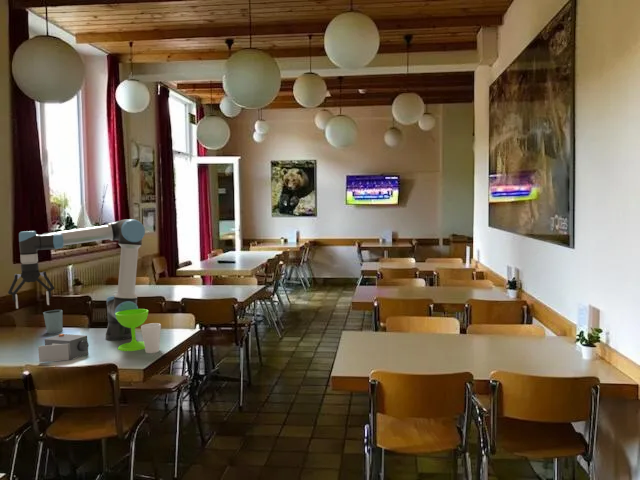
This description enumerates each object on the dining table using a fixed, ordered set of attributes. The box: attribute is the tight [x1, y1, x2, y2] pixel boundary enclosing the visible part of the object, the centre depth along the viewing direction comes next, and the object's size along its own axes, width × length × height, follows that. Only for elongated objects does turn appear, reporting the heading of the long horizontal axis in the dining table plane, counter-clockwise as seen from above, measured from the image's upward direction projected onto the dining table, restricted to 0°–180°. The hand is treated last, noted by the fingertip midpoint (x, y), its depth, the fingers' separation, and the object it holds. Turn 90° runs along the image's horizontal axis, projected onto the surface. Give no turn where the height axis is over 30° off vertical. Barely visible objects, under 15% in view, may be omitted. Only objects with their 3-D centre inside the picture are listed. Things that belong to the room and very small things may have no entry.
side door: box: [37, 343, 71, 363], centre depth 273 cm, size 14×1×8 cm, turn 102°
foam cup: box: [140, 322, 162, 354], centre depth 284 cm, size 10×9×13 cm
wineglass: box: [115, 308, 149, 352], centre depth 294 cm, size 16×16×18 cm
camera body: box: [43, 333, 89, 361], centre depth 283 cm, size 18×11×10 cm, turn 67°
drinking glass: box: [42, 309, 64, 334], centre depth 340 cm, size 10×10×12 cm
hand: (32, 306), depth 284 cm, fingers open, 13 cm apart
